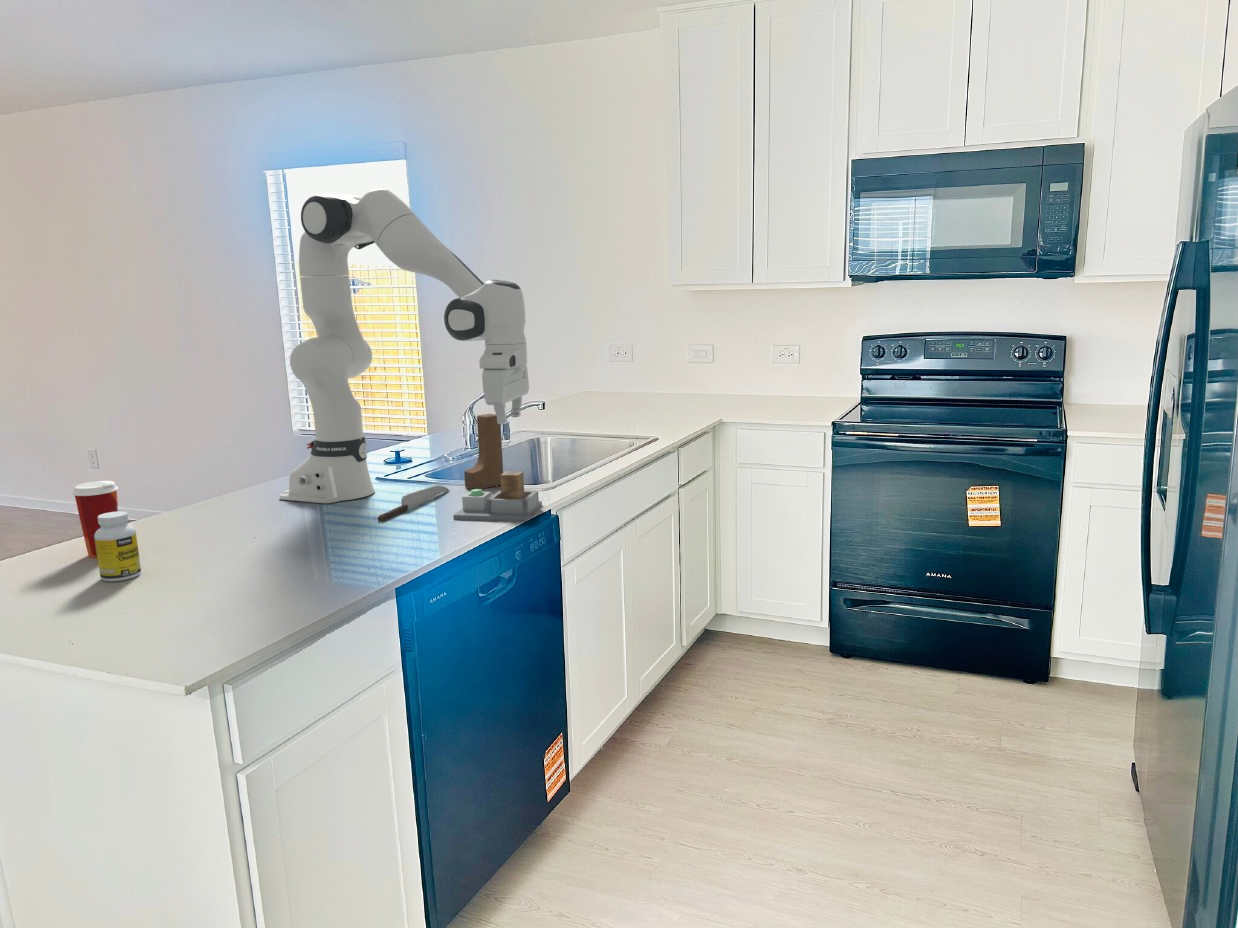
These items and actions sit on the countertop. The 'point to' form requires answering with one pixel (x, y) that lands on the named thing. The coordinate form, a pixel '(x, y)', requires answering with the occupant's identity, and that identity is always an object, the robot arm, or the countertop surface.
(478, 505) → the gray button tray fixture
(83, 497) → the paper cup
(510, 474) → the block
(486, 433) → the wooden block
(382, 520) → the kitchen knife
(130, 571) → the pill bottle
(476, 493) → the button
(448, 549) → the countertop surface
